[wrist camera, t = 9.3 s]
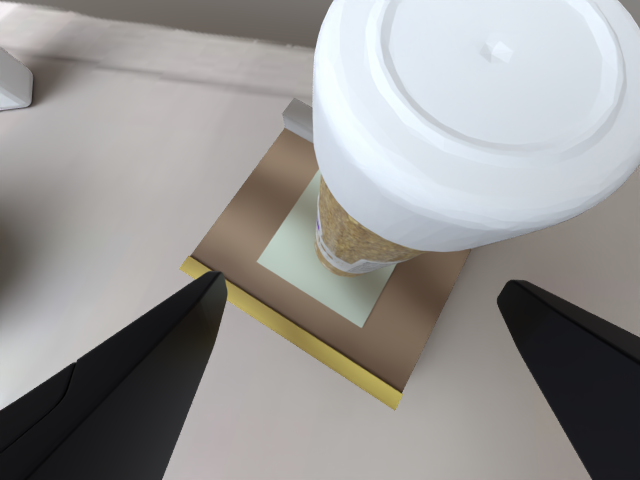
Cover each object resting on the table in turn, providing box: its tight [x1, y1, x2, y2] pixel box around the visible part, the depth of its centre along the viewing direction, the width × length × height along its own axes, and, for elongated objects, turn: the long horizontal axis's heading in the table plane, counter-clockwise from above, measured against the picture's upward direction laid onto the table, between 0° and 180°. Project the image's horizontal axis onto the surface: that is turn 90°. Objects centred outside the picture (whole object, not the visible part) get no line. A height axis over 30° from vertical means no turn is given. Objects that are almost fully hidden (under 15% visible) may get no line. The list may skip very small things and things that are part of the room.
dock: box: [179, 98, 472, 410], centre depth 17 cm, size 14×16×4 cm
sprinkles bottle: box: [313, 0, 640, 278], centre depth 9 cm, size 5×5×14 cm
